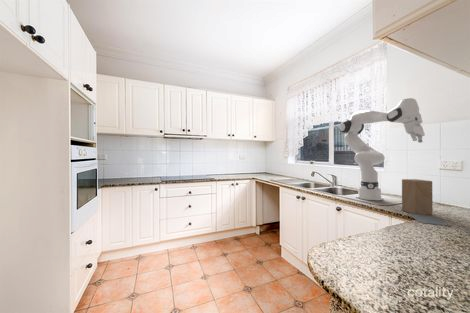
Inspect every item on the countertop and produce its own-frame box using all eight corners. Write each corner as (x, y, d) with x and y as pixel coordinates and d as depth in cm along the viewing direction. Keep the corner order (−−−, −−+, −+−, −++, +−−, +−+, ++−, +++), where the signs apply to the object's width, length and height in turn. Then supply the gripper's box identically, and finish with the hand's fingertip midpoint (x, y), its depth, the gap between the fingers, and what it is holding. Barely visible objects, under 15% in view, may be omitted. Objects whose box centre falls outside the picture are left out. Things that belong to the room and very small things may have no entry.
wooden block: (433, 215, 115) (432, 181, 115) (415, 214, 115) (415, 180, 115) (417, 210, 125) (417, 179, 125) (401, 210, 125) (401, 179, 125)
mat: (407, 213, 117) (407, 213, 117) (434, 216, 111) (434, 216, 111) (419, 222, 101) (419, 222, 101) (452, 226, 95) (452, 225, 95)
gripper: (412, 125, 136) (417, 144, 134) (400, 120, 126) (405, 141, 123) (424, 122, 131) (429, 142, 128) (413, 117, 121) (418, 138, 118)
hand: (417, 141), depth 126 cm, fingers open, 8 cm apart
